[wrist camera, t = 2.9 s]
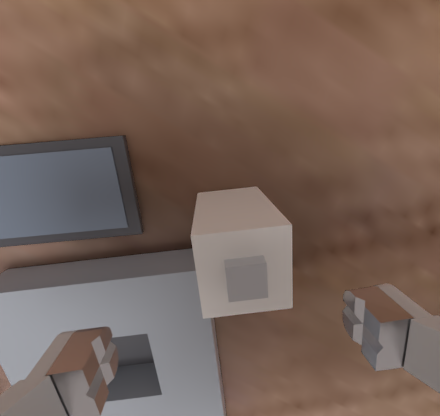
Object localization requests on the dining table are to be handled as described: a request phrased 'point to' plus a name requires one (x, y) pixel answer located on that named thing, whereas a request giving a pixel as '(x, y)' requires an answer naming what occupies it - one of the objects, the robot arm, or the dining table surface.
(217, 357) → the outlet board
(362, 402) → the dining table surface
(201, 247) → the block
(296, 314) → the dining table surface
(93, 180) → the phone slab
